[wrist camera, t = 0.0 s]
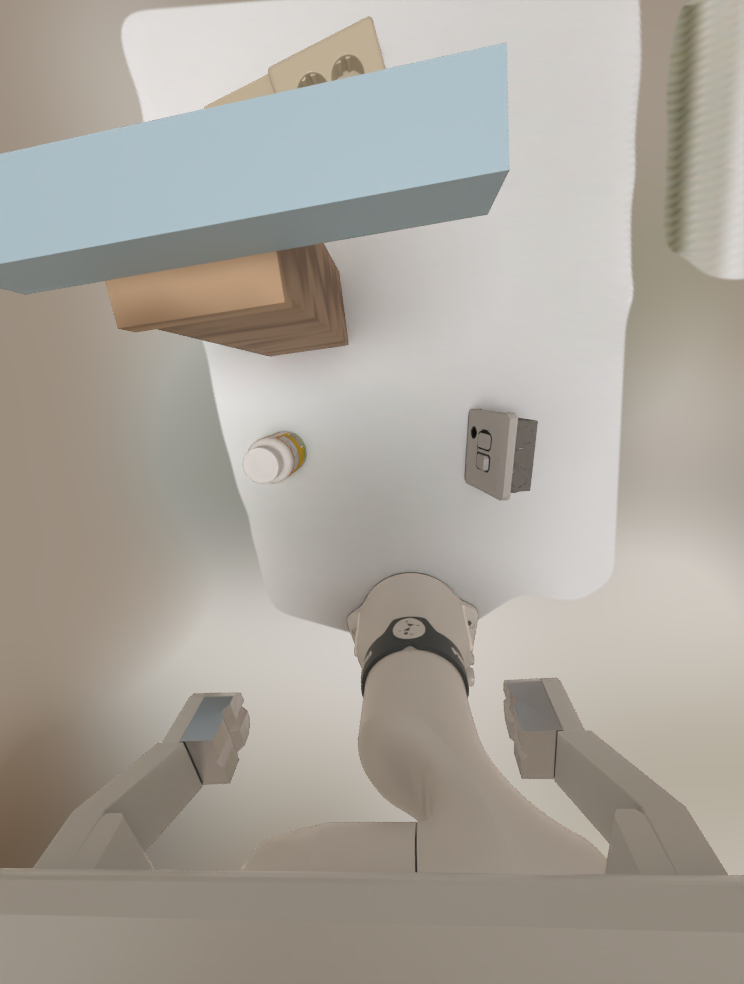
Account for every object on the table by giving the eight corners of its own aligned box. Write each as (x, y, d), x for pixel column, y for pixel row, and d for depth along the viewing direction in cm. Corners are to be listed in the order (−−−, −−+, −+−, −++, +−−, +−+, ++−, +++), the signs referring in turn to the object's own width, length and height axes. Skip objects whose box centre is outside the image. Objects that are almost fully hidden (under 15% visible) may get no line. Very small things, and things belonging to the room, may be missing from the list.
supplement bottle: (267, 469, 50) (236, 487, 41) (267, 429, 49) (235, 439, 40) (306, 472, 50) (284, 492, 41) (307, 432, 49) (285, 443, 39)
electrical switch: (468, 408, 46) (493, 413, 37) (509, 408, 46) (544, 413, 38) (463, 481, 49) (485, 502, 40) (503, 481, 49) (534, 502, 40)
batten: (487, 214, 19) (509, 169, 15) (25, 294, 22) (-57, 274, 18) (483, 117, 18) (506, 42, 14) (-1, 214, 20) (-94, 174, 17)
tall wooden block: (349, 349, 46) (284, 302, 21) (270, 360, 47) (117, 328, 22) (338, 267, 43) (251, 101, 18) (255, 280, 44) (66, 141, 19)
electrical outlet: (198, 100, 37) (371, 11, 34) (218, 127, 41) (374, 49, 38) (228, 180, 39) (395, 102, 36) (244, 199, 43) (395, 130, 40)
